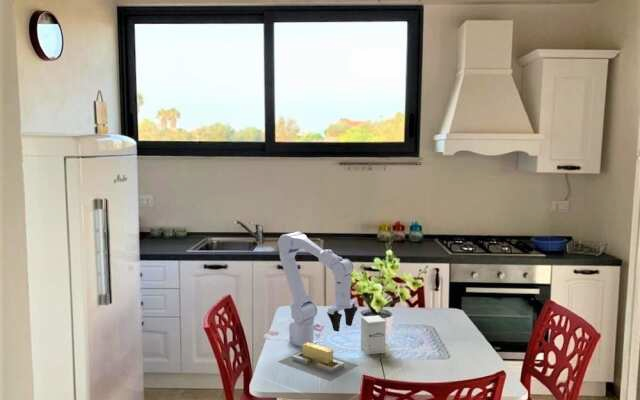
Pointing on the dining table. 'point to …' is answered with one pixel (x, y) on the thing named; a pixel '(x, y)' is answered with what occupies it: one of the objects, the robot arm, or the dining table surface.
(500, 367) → the dining table surface
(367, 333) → the supplement box
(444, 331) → the dining table surface
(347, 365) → the mat
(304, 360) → the pair of white brackets
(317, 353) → the yellow gripped block
